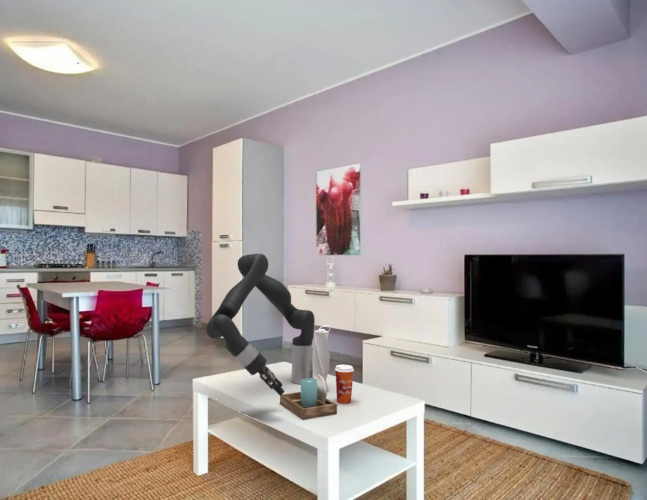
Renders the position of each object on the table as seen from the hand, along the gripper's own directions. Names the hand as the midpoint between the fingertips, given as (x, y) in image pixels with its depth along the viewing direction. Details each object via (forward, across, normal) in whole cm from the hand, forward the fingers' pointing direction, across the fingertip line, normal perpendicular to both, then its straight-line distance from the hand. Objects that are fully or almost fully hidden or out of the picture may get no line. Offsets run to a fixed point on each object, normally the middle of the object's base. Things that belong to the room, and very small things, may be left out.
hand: (281, 390), depth 161 cm
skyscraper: (+20, +29, -7) cm, 35 cm away
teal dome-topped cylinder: (+13, 0, -2) cm, 13 cm away
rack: (+14, +5, -1) cm, 15 cm away
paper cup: (+25, +12, -12) cm, 30 cm away
